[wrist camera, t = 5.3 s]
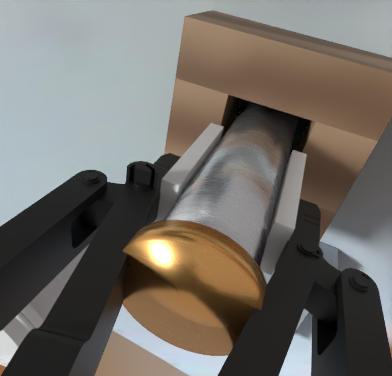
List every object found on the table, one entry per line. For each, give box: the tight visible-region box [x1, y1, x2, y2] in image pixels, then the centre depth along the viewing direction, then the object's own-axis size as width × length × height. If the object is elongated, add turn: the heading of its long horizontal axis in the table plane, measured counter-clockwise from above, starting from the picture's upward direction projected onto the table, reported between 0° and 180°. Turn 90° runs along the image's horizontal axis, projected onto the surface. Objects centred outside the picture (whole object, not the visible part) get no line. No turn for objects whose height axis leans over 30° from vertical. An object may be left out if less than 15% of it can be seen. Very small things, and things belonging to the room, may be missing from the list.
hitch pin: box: [122, 101, 298, 356], centre depth 17 cm, size 5×5×17 cm
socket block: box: [164, 10, 392, 241], centre depth 22 cm, size 12×12×5 cm
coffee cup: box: [0, 245, 89, 367], centre depth 31 cm, size 10×10×15 cm
